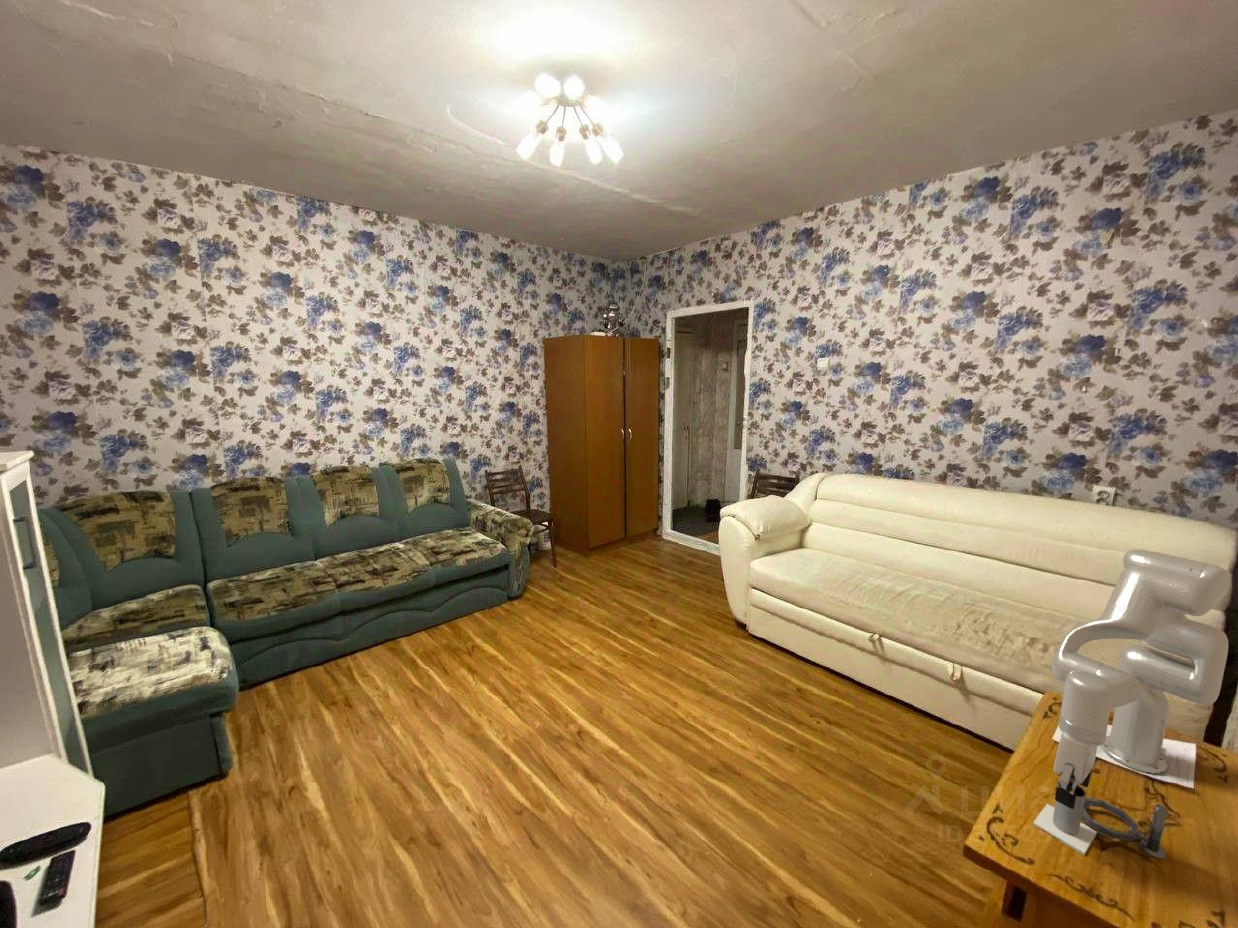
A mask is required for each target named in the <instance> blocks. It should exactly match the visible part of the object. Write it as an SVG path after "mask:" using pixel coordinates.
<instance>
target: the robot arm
mask: <svg viewBox="0 0 1238 928" xmlns="http://www.w3.org/2000/svg"><path fill="white" fill-rule="evenodd" d="M1122 560H1123V561H1122V562H1123V563H1122V564H1123V568H1124V569H1123V570H1122V572H1121V573H1120V574H1119V577H1118V580H1117V582H1116V584H1115V586H1114V587H1113V590H1112V592H1111V595H1110V596H1109V599H1108V601H1107V603H1106V606H1105V608H1104V610H1103V613H1102V615H1100V617H1097V618H1094V619H1090V620H1088V621H1085V622H1083V623H1080V624H1079V625H1076V626H1075V627H1073V628H1072V629H1070V630H1069V631H1067V633H1066V634H1065V635H1064V636H1063V638H1062V639H1061V641H1060V644H1059V646H1058V648H1057V650H1056V653H1054V657H1053V659H1052V663H1051V671H1052V674H1053V675H1054V677H1055V678H1056V679H1057V680H1059V681H1060V682H1062V683H1064V687H1063V695H1062V702H1061V708H1060V715H1059V722H1058V728H1059V730H1060V732H1061V735H1060V739H1059V742H1058V747H1057V751H1056V755H1055V761H1054V764H1053V772H1054V773H1055V774H1058V775H1059V778H1058V781H1057V784H1056V789H1055V795H1054V799H1055V802H1056V801H1058V802H1059V803H1061V804H1063V805H1065V806H1067V807H1069V808H1070V809H1074V806H1075V800H1076V793H1075V790H1076V787H1077V785H1079V786H1080V785H1081V786H1082V787H1084V788H1088V787H1089V784H1090V778H1091V773H1092V772H1091V771H1092V769H1093V767H1094V765H1095V761H1096V757H1097V751H1098V747H1100V746H1101V749H1102V750H1103V751H1104V752H1105V754H1107V755H1108V756H1110V757H1111V758H1112V759H1113V760H1115V761H1116V762H1119V763H1121V764H1122V765H1124V766H1126V767H1129V768H1131V769H1134V770H1136V771H1140V772H1143V773H1147V772H1150V773H1149V774H1154V773H1159V774H1163V773H1162V772H1164V773H1165V772H1166V771H1167V769H1168V763H1167V761H1166V759H1164V757H1163V756H1161V753H1162V748H1163V745H1164V744H1163V743H1164V738H1165V734H1166V728H1167V723H1168V720H1169V716H1170V711H1171V710H1170V709H1171V707H1170V702H1169V700H1168V697H1167V696H1166V694H1165V693H1167V694H1169V695H1173V696H1175V697H1178V698H1181V699H1183V700H1186V701H1189V702H1191V703H1195V704H1198V705H1201V706H1208V705H1209V706H1210V705H1212V704H1214V703H1215V702H1216V701H1217V699H1218V697H1219V696H1220V692H1221V689H1222V683H1223V679H1224V675H1225V674H1224V673H1225V669H1226V663H1227V658H1228V654H1229V640H1228V637H1227V634H1226V632H1224V631H1223V630H1221V629H1220V628H1218V627H1215V626H1213V625H1210V624H1207V623H1203V622H1200V621H1196V620H1193V619H1190V618H1188V617H1187V615H1189V616H1192V617H1202V616H1204V615H1206V614H1208V613H1209V612H1210V611H1211V610H1212V609H1213V608H1214V607H1215V606H1216V605H1217V604H1218V603H1219V602H1220V601H1221V600H1222V599H1223V598H1224V597H1225V595H1226V594H1227V593H1228V590H1229V588H1230V583H1231V577H1230V575H1229V572H1228V571H1227V570H1226V569H1225V568H1223V567H1221V566H1219V565H1215V564H1212V563H1207V562H1203V561H1198V560H1194V559H1189V558H1184V557H1179V556H1175V555H1172V554H1165V553H1161V552H1157V551H1152V550H1147V549H1130V550H1128V551H1126V552H1125V554H1124V555H1123V559H1122ZM1098 640H1135V641H1136V640H1137V641H1139V642H1140V643H1142V644H1144V645H1141V644H1140V645H1138V644H1130V645H1127V646H1125V647H1123V648H1122V649H1121V650H1120V654H1119V660H1118V661H1119V668H1117V667H1114V666H1111V665H1108V664H1106V663H1104V662H1101V661H1099V660H1096V659H1093V658H1091V657H1088V656H1085V655H1082V654H1080V653H1078V651H1079V650H1080V649H1081V648H1082V646H1084V645H1085V644H1088V643H1090V642H1093V641H1098ZM1146 645H1147V646H1146ZM1148 646H1149V647H1148ZM1175 655H1176V656H1175ZM1113 708H1115V709H1114V713H1113V718H1112V719H1113V720H1112V724H1111V730H1110V735H1107V731H1108V726H1109V720H1110V713H1111V709H1113ZM1160 772H1161V773H1160ZM1069 781H1070V782H1073V785H1072V788H1071V786H1070V785H1069Z"/></svg>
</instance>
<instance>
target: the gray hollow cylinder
mask: <svg viewBox="0 0 1238 928" xmlns="http://www.w3.org/2000/svg"><path fill="white" fill-rule="evenodd" d="M1069 785H1070V786H1071V788H1072V785H1073V782H1072V781H1070V780H1069ZM1075 793H1076V800H1075V806H1074V809H1070V808H1069V807H1067V806H1065V805H1063V804H1061V803H1059V802H1058V801H1056V800H1055V804H1054V814H1053V823H1054V825H1055V826H1056V827H1057V828H1058V829H1060V830H1061V831H1063V832H1065V833H1067V834H1070V835H1077V834H1078V833H1079V829H1080V823H1082V819H1083V818H1082V812H1083V807H1084V801H1085V798H1086V795H1087V794H1086V791H1085V790H1084V789H1083V787H1081V786H1080V785H1079V784H1077V787H1076V790H1075ZM1084 808H1085V807H1084Z"/></svg>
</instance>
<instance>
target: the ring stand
mask: <svg viewBox="0 0 1238 928" xmlns="http://www.w3.org/2000/svg"><path fill="white" fill-rule="evenodd" d="M1090 807H1097V808H1102V809H1104V810H1106V811H1108V812H1110V813H1112V814H1114V815H1115V816H1117V817H1119V818H1121V819H1122V820H1123V821H1124V822H1125V824H1126V825H1128V828H1129V829H1128V831H1121V830H1116V829H1115V830H1114V829H1113V830H1112V829H1111V828H1110V827H1107V826H1105V825H1103V824H1102V823H1100V822H1098V821H1096V820H1094V819H1093V818H1092V817H1091V815H1089V813H1088V812H1087V811H1090ZM1153 808H1154V809H1153V812H1152V813H1153V814H1152V818H1151V823H1150V829H1149V832H1148V835H1145V834H1144V833H1142V832H1140V831H1139V829H1140V826H1139V825H1138V824H1137V823H1136V822H1135V821H1134V820H1133V819H1132V817H1131V816H1129V815H1128V813H1127V811H1125V810H1123V809H1121V808H1119V807H1117V806H1115V805H1113V804H1111V803H1109V802H1107V801H1106V800H1103V799H1099V798H1092V797H1091V798H1090V797H1085V801H1084V807H1083V812H1082V818H1081V819H1083V820H1084V822H1085V823H1086V825H1087V826H1088V827H1090V828H1092V829H1093V830H1095V831H1097V834H1096V836H1098V837H1101V838H1103V834H1104V835H1105V836H1107V837H1109V838H1111V839H1113V840H1121V841H1127V842H1135V839H1136V838H1138V840H1139V839H1140V841H1139V843H1138V846H1139V848H1140V849H1141V851H1142V852H1143V853H1145V854H1146V855H1148V856H1150V857H1152V858H1154V859H1157V860H1165V859H1166V857H1167V853H1166V851H1165V850H1164V849H1163V848H1162V847H1160V845H1161V842H1162V837H1163V833H1164V829H1165V828H1164V827H1165V823H1166V818H1167V814H1168V809H1167V807H1165V806H1163V805H1161V804H1157V803H1156V804H1154V807H1153Z"/></svg>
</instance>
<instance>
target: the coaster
mask: <svg viewBox="0 0 1238 928" xmlns="http://www.w3.org/2000/svg"><path fill="white" fill-rule="evenodd" d="M1054 808H1055V806H1053V805H1050V804H1048V803H1046V805H1045V806H1043V809H1042V810H1041V811H1040V812H1039V814H1038V815H1037V817H1036V818H1035V819H1034V820H1033V823H1032V825H1033V826H1034V827H1036V826H1037V827H1036V828H1038V827H1039V828H1041V829H1043V830H1044V831H1046V832H1048V833H1049V834H1051V835H1052V836H1051V835H1050V836H1051V837H1053V836H1054V837H1056V838H1057V839H1056V838H1055V839H1056V840H1058V839H1059V840H1060V841H1059V840H1058V841H1059V842H1061V843H1063V844H1064V845H1066V846H1068V847H1069V848H1071V849H1073V850H1074V851H1076V852H1078V853H1079V854H1081V855H1083V856H1085V855H1086V853H1087V851H1088V850H1089V848H1090V846H1091V845H1092V843H1093V841H1094V839H1095V837H1096V836H1097V834H1098V830H1096V829H1094V828H1093V827H1091V826H1089V825H1087V824H1084V823H1082V822H1081V823H1080V829H1079V833H1078V834H1077V835H1070V834H1067V833H1065V832H1063V831H1061V830H1060V829H1058V828H1057V827H1056V826H1055V825H1054V823H1053V814H1054ZM1039 828H1038V829H1039ZM1041 829H1040V830H1041ZM1043 830H1042V831H1043ZM1044 831H1043V832H1044ZM1046 832H1045V833H1046ZM1048 833H1047V834H1048ZM1049 834H1048V835H1049ZM1054 837H1053V838H1054Z"/></svg>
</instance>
